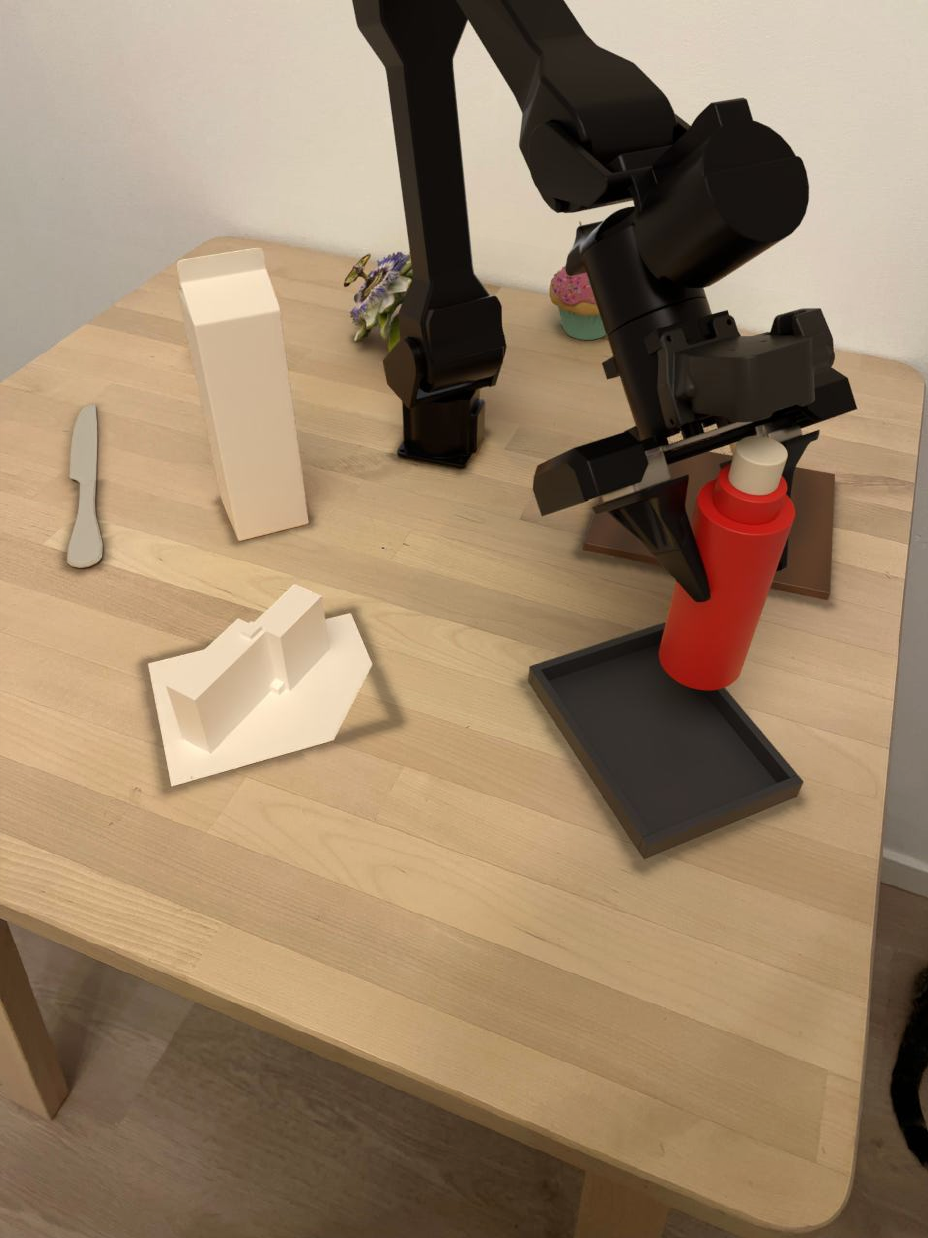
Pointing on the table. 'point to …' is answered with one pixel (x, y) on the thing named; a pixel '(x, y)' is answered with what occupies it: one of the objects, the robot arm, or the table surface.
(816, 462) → the table surface
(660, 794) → the baking tray
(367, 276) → the passion flower
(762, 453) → the ketchup
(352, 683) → the white building model
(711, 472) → the serving board
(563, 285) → the cupcake
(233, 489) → the milk
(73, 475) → the butter knife
